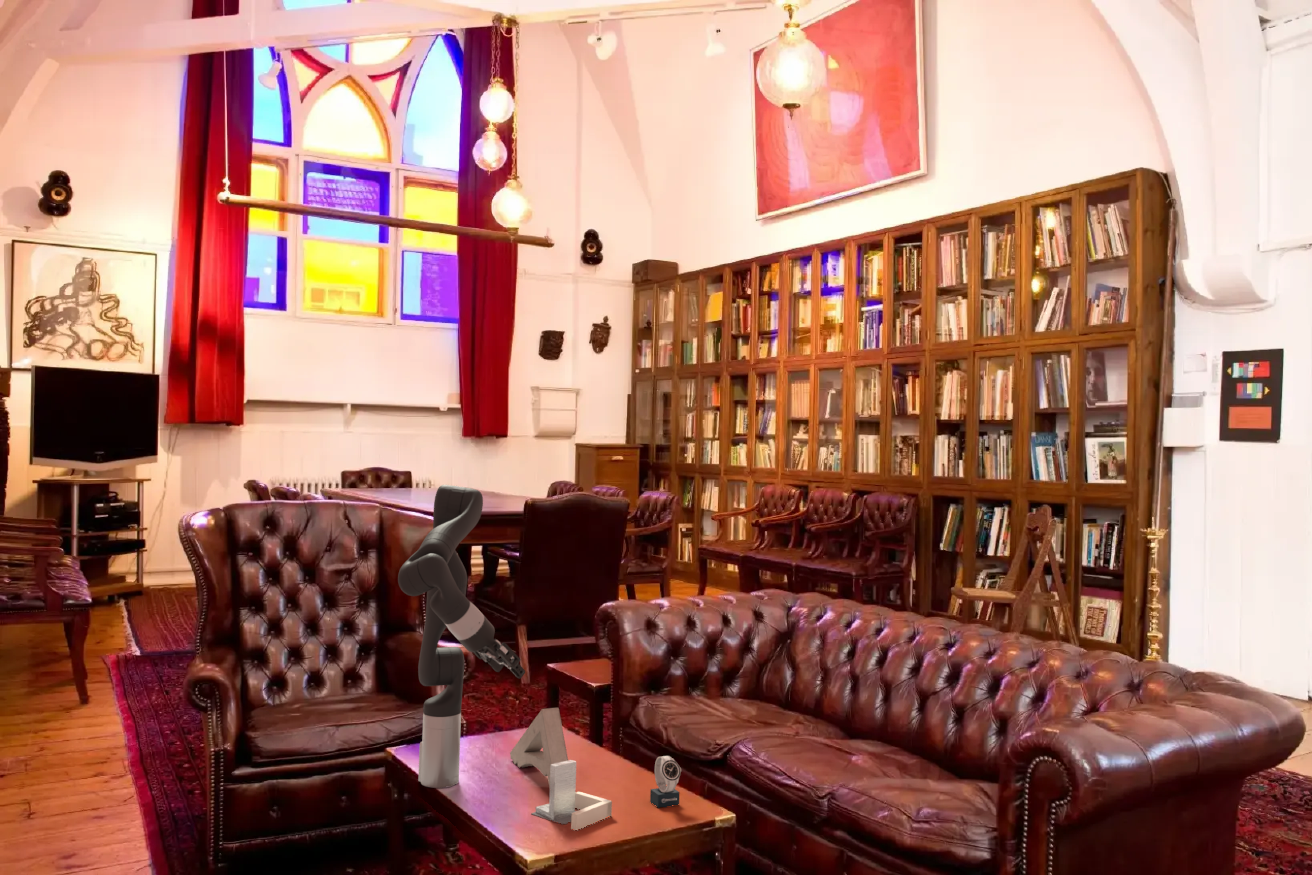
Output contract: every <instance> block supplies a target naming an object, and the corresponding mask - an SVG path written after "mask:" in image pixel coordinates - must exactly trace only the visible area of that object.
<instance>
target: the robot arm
mask: <svg viewBox="0 0 1312 875" xmlns="http://www.w3.org/2000/svg"><path fill="white" fill-rule="evenodd" d="M433 503H434V504H433V512H432V513H433V516H432V517H433V519H432V520H433V522H432V529H431V530H430V531H428V533H427V534H426V536H425V537H424V539H423V541H422V543H421V544H420V546H419V548H418V549H417V551H415V552H414V553H413V554H411V555H410V557H409V558H408V559H407V560H406V561H405V562H404V563H403V564H402V566H401V567H400V568H399V572H398V575H397V583H398V586H399V588H400V590H401V591H402V592H403V593H404V594H406V595H407V596H411V597H418V596H421V595H423V594H425V593H426V606H425V607H426V608H425V618H424V620H425V622H424V628H423V634H422V640H421V645H420V646H421V647H420V653H419V660H418V664H417V665H418V666H417V669H418V671H417V674H418V680H419V683H420V684H421V685H422V686H424V687H436V686H437V687H438V686H439V687H440V686H446V687H445V688H444V689H443V690H442V691H441V692H439V693H438V694H436V695H433V696H432V697H430V698H429V697H428V699H425V701H424V703H423V706H422V708H423V709H422V710H423V712H422V713H423V714H422V736H421V739H422V741H420V743H419V748H418V749H419V752H418V779H417V780H418V782H420V784H421V785H422V786H424V787H426V788H434V789H440V788H442V789H443V788H449V787H453V786H456V785H457V784H458V783H459V781H460V757H461V756H460V754H461V724H462V723H461V719H462V702H463V687H464V685H463V684H464V675H465V673H464V672H465V655H464V651H463V649H461V648H460V647H459V646H446V647H444V646H443V647H438V645H439V642H440V639H441V637H442V635H443V633H444V631H446V629H448V631H449V632H450V633H451V634H452V635H453V636H454V637H455V638H456V639H457V641H458V642H460V644H461V645H462V646H463V648H465V649H466V650H467V651H468V652H471V653H473V654H474V655H475V656H476V657H477V658H478V659H479V660H483V662H485V663H488V665H489V666H490V667H491V668H492V669H493V670H494V672H496V673H500V671H501V670H502V669H503V668H504V667H506V668H507V669H509V670H510V672H511V673H512V674H513V675H514V676H515V678H517V679H522V677H524V675H525V673H526V670H525V669H524V668H523V666H522V665H521V664H520V662H521V660H522V659H521V658H520V657H519V655H517V654H516V653H515V652H514V651H513V649H512V648H511V647H510V646H509V645H508V644H507V643H506V642H502V643H501V641H499V640H498V639H496V638H494V637H495V633H496V632H495V631H496V630H495V627H494V625H493V624H492V623H491V621H489V620H488V618H487V617H486V616H485V615H484V614H483V612H481V611H480V610H479V607H477V606H476V605H475V604H474V603H473V602H471V601H470V600H469V599H468V598H467V597H466V594H467V584H468V574H467V570H466V568H465V566H464V564H463V562H462V560H461V558H460V556H459V554H458V553H457V551H456V549H457V547H458V546H459V544H460V543H461V542H462V541H463V540H464V539H465V538H466V537H467V536H468V535H469V534H470V533H471V531H472V530H473V529H474V528H475V527H476V526H477V524H478V523H479V521H480V519H481V516H482V514H483V513H482V512H483V507H484V498H483V494H482V492H481V491H480V490H478V489H476V488H471V487H465V486H458V485H452V484H451V485H449V484H441V485H439V487H438V488H437V490H436V493H435V496H434V501H433ZM500 657H501V658H500ZM455 784H456V785H455Z"/></svg>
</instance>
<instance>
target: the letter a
mask: <svg viewBox="0 0 1312 875" xmlns="http://www.w3.org/2000/svg"><path fill="white" fill-rule="evenodd" d="M509 754H510V759H511V760H512V763H513V764H514V765H517V768H518V767H519V769H520V767H522V768H528V766H531V767H535V768H536V769H537V770H538V771H540V773H541V774H542V775H543V777H547V782H548V787H549V790H550V764H555V763H559V762H564V761H568V760H569V758H568V757H569V756H568V752H567V746H566V741H565V734H564V729H563V725H562V718H561V714H560V709H559V707H548V708H541V710H540V711H539V713H538V714H537V715H536V716H535V718H534V719H533V720H532V722H531V724H530V725H529V726H528V728H526V730H525V732H524V733H523V734H522V736H521V737H520V738H519V740H518V741H517V742H516V744H515V745H514V747H513V748H512V749H511V751H510V752H509Z"/></svg>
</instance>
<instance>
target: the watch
mask: <svg viewBox="0 0 1312 875" xmlns="http://www.w3.org/2000/svg"><path fill="white" fill-rule="evenodd" d="M654 763H655V764H654V771H653V772H654V779H655V784H656V786H657V787H658V788H650V796H649V798H650V799H649V803H650V802H651V804H652V803H653V804H654V805H656V806H657V807H658V808H657V807H656V806H655V807H656V808H657V809H661V808H660V807H664V808H668V807H667V806H671V807H673V806H672V805H678V804H679V805H680V790H679V791H678V790H677V789H676V787H677V784H678V783H679V780H680V776H681V772H682V768H681V767H680V765H679V764H678V762H677V761H676V760H675V759H674V758H672V756H670V755H663V756H658V757H657V758H656V760H655V762H654ZM653 804H652V805H653ZM654 805H653V806H654Z"/></svg>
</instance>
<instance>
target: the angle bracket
mask: <svg viewBox="0 0 1312 875" xmlns="http://www.w3.org/2000/svg"><path fill="white" fill-rule="evenodd" d="M576 783H577V761H576V760H573V759H568V761H564V762H559V763H555V764H550V789H549V796H548V797H549V800H548V801H549V803H545V804H542V805H537V806H535V812H536V813H538V814H540V815H543V816H545V817H547V818H549V819H551V820H553V821H552V822H554V820H558V819H561V818H565V817H569V816H572V813H573V812H575V811H576V809H575V793H576V788H577V787H576V786H577V784H576ZM551 820H550V821H551Z"/></svg>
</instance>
